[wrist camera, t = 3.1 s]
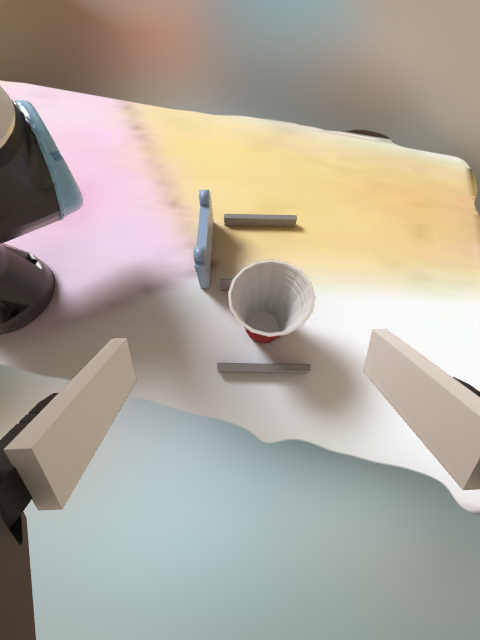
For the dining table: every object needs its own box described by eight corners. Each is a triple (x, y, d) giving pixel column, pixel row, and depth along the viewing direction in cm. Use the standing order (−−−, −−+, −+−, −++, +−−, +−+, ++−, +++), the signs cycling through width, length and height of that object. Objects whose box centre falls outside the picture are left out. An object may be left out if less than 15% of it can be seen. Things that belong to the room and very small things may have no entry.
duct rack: (194, 371, 38) (183, 360, 30) (206, 221, 49) (200, 182, 41) (306, 373, 38) (325, 362, 30) (294, 222, 49) (305, 185, 41)
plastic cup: (247, 287, 44) (251, 244, 32) (303, 313, 42) (327, 277, 31) (218, 339, 40) (211, 311, 29) (277, 369, 39) (295, 351, 27)
